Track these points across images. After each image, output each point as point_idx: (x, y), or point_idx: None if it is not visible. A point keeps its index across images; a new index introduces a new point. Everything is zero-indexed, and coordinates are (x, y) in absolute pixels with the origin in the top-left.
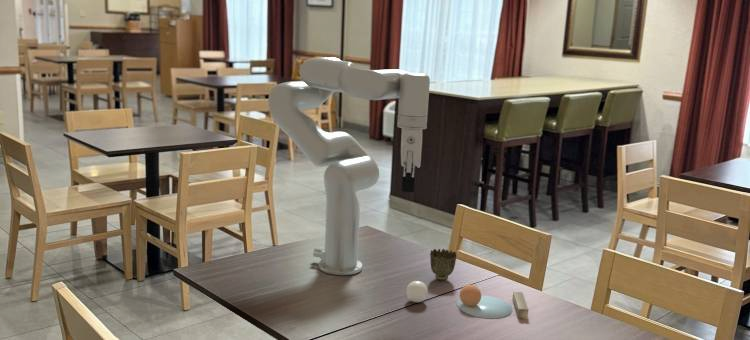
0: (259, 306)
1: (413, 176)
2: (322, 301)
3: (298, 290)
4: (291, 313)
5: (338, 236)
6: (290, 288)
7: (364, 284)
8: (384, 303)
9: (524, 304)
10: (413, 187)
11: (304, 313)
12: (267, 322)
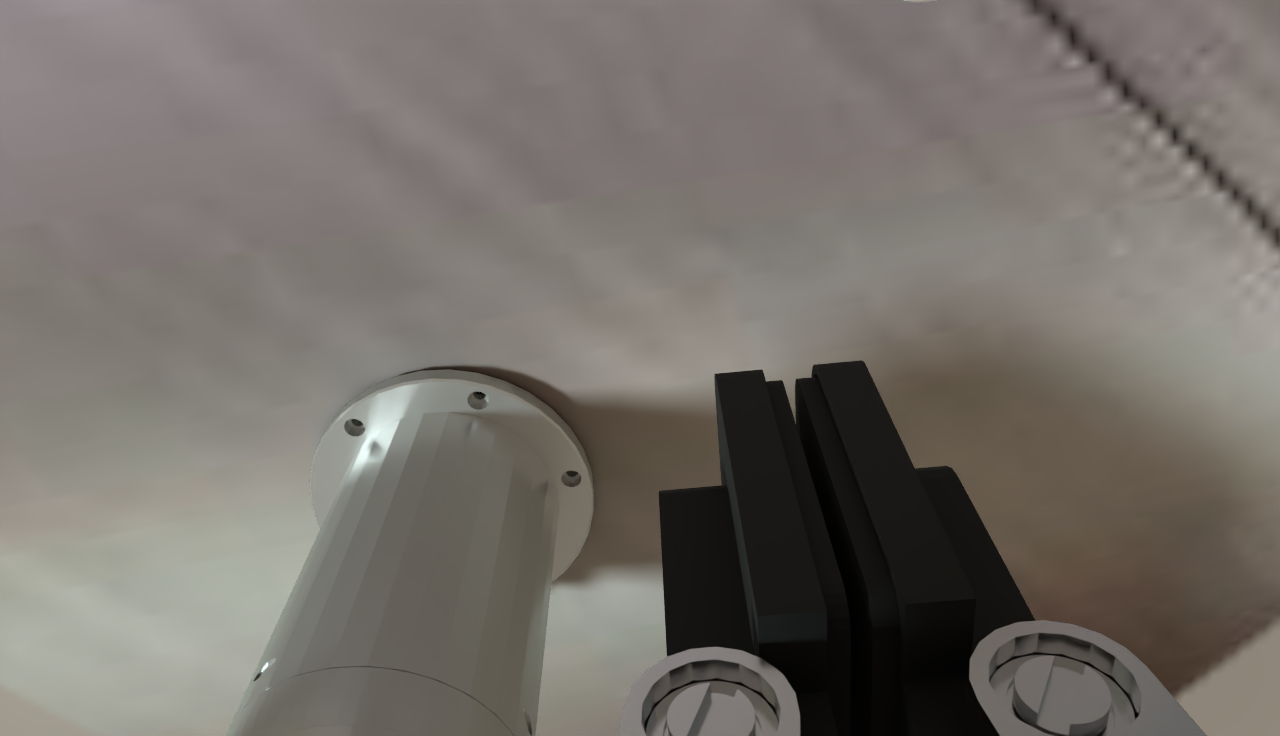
0: None
1: (1143, 670)
2: (990, 469)
3: None
4: (1157, 562)
5: (542, 664)
6: None
7: (681, 307)
8: (971, 132)
9: None
10: (882, 421)
11: (1155, 511)
12: (1263, 623)
